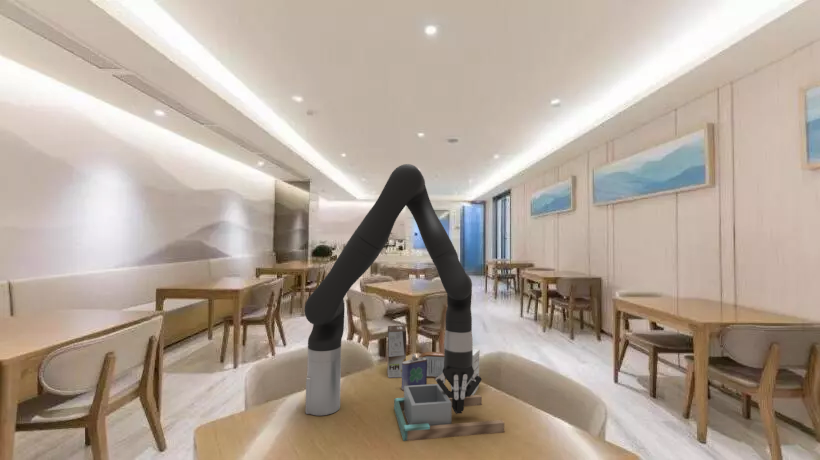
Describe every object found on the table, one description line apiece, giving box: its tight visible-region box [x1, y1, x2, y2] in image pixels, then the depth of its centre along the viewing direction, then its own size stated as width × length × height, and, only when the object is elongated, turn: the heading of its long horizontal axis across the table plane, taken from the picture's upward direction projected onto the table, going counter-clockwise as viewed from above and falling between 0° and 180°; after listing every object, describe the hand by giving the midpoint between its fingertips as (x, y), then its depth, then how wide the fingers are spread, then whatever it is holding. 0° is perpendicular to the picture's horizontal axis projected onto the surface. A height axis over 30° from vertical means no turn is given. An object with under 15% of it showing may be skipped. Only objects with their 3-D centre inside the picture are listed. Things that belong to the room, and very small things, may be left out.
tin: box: [417, 351, 444, 379], centre depth 124 cm, size 15×3×8 cm, turn 84°
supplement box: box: [466, 348, 480, 395], centre depth 114 cm, size 7×7×13 cm
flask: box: [401, 353, 428, 392], centre depth 115 cm, size 9×3×11 cm, turn 121°
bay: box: [393, 394, 505, 442], centre depth 94 cm, size 25×17×3 cm, turn 100°
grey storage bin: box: [403, 383, 452, 426], centre depth 93 cm, size 10×12×7 cm
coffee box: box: [386, 324, 407, 379], centre depth 128 cm, size 9×6×16 cm
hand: (458, 412), depth 94 cm, fingers closed
